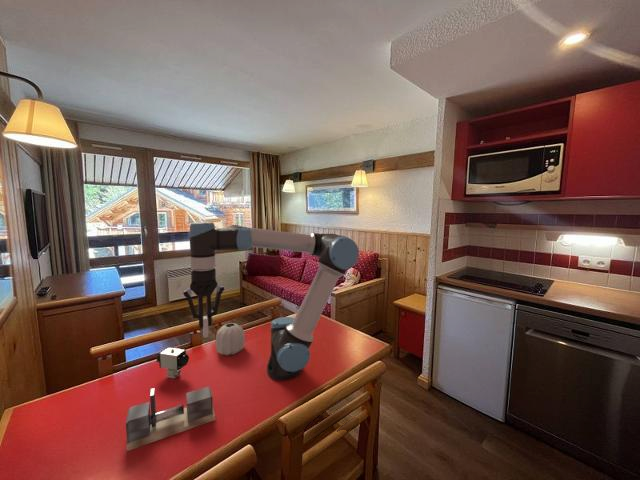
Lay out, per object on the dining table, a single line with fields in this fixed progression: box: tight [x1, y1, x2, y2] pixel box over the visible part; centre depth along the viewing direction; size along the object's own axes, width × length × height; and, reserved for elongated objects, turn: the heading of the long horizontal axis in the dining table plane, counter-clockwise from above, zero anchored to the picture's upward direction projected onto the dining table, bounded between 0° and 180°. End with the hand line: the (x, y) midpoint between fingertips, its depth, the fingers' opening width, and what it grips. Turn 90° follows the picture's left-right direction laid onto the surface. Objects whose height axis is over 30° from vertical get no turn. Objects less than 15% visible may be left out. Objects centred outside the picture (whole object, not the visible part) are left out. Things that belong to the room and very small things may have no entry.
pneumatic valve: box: [156, 347, 190, 380], centre depth 110 cm, size 6×12×12 cm, turn 78°
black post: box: [149, 387, 185, 428], centre depth 83 cm, size 14×5×11 cm, turn 120°
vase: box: [215, 322, 246, 356], centre depth 130 cm, size 14×14×13 cm
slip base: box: [125, 385, 216, 452], centre depth 86 cm, size 24×9×8 cm, turn 120°
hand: (205, 335), depth 91 cm, fingers closed
